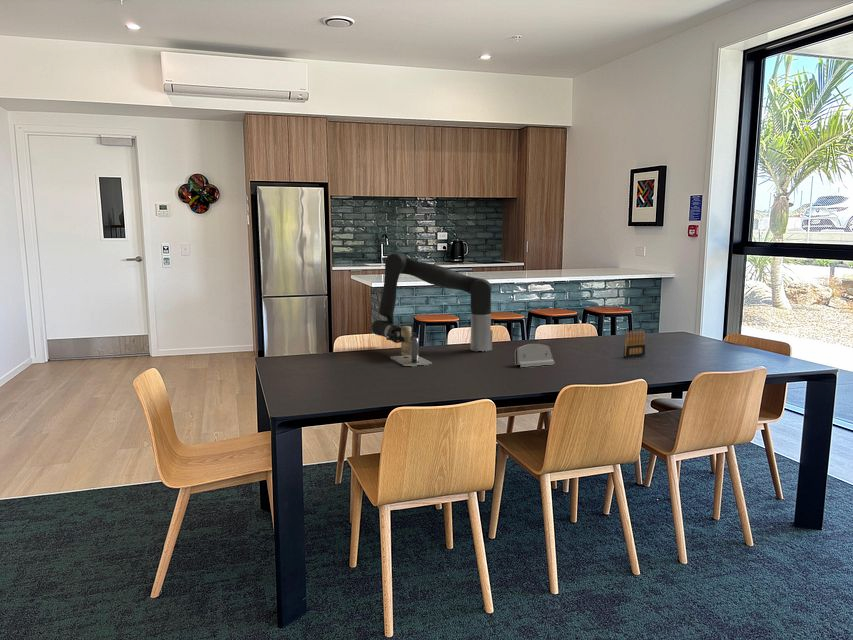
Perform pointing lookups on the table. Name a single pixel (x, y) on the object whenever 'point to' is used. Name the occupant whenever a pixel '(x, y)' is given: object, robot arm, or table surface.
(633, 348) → the ammunition clip
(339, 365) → the table surface
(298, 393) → the table surface
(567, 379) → the table surface
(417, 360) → the bolt plate
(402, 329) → the oak post
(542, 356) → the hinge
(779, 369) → the table surface
